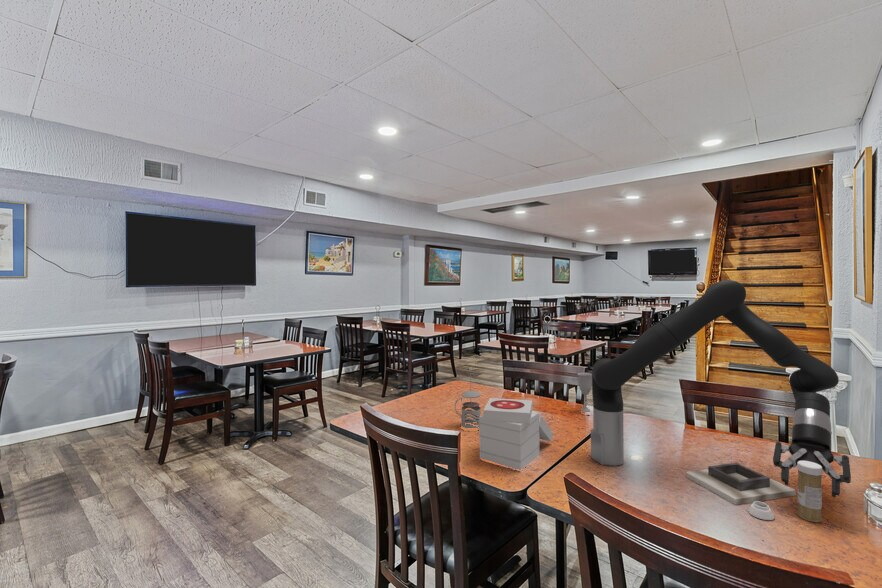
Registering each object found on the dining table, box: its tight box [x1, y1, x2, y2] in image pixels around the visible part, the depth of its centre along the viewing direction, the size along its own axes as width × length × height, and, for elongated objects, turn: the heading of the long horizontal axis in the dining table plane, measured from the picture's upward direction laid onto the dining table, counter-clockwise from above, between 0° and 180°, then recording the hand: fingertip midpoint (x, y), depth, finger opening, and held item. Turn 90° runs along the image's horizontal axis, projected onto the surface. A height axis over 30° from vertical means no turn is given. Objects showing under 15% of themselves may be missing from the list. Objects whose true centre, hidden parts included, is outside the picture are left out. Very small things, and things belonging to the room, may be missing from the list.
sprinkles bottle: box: [796, 461, 823, 523], centre depth 98 cm, size 5×5×14 cm
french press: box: [454, 366, 481, 428], centre depth 165 cm, size 10×12×25 cm
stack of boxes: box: [478, 397, 554, 470], centre depth 140 cm, size 19×30×18 cm, turn 144°
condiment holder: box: [685, 462, 797, 506], centre depth 115 cm, size 20×16×4 cm
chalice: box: [577, 372, 592, 412], centre depth 181 cm, size 7×7×18 cm
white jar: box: [747, 501, 775, 521], centre depth 100 cm, size 5×3×5 cm
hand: (809, 489), depth 98 cm, fingers open, 8 cm apart
